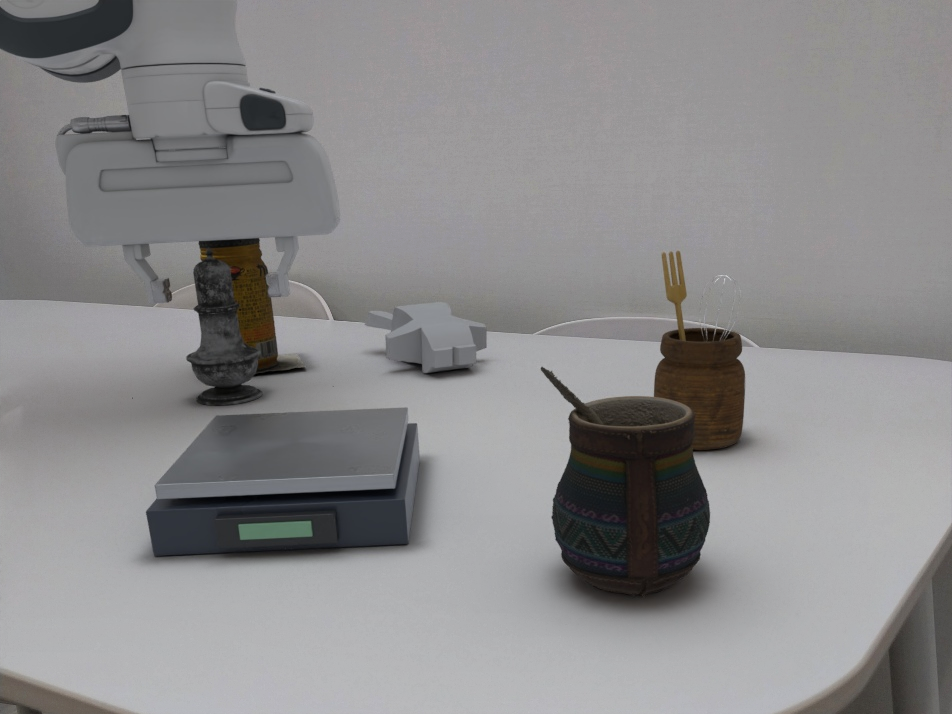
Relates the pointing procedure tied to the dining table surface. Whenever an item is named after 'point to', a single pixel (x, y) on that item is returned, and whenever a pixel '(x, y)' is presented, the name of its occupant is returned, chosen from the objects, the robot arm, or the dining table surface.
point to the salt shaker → (221, 339)
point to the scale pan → (290, 454)
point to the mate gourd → (630, 493)
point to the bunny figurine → (430, 336)
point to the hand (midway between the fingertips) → (220, 299)
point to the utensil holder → (702, 369)
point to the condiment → (252, 299)
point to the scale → (289, 517)
